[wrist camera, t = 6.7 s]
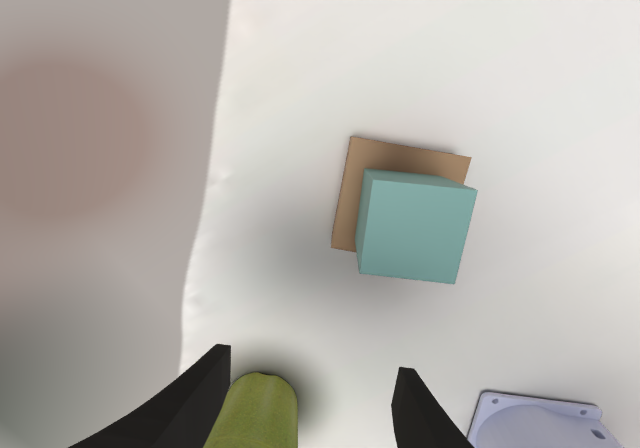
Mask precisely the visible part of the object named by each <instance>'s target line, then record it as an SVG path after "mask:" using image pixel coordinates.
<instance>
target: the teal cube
mask: <svg viewBox="0 0 640 448" xmlns="http://www.w3.org/2000/svg"><path fill="white" fill-rule="evenodd" d="M477 191H478V190H476V189H473V188H470V187H468V186H465V185H463V184H460V183H457V182H455V181H452V180H450V179H447V178H445V177H442V176H437V175H427V174H417V173H407V172H397V171H387V170H377V169H367V168H364V173H363V181H362V188H361V196H360V203H359V211H358V218H357V226H356V233H355V245H356V252H357V259H358V266H359V273H360V274H369V275H378V276H387V277H395V278H404V279H413V280H422V281H431V282H439V283H448V284H455V280H456V276H457V272H458V268H459V264H460V260H461V256H462V252H463V248H464V244H465V240H466V236H467V232H468V228H469V224H470V220H471V215H472V211H473V207H474V203H475V199H476V195H477Z"/></svg>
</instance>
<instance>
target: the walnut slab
mask: <svg viewBox="0 0 640 448" xmlns="http://www.w3.org/2000/svg"><path fill="white" fill-rule="evenodd" d="M471 158H472V157H466V156H460V155H454V154H449V153H443V152H437V151H432V150H426V149H420V148H415V147H409V146H403V145H397V144H392V143H386V142H380V141H375V140H369V139H363V138H357V137H350V142H349V147H348V153H347V158H346V163H345V169H344V174H343V179H342V184H341V190H340V195H339V200H338V205H337V211H336V216H335V221H334V227H333V232H332V240H331V248H335V249H341V250H346V251H352V252H356V245H355V233H356V226H357V218H358V211H359V203H360V196H361V188H362V181H363V173H364V168H367V169H377V170H387V171H397V172H407V173H417V174H427V175H437V176H442V177H445V178H447V179H450V180H452V181H455V182H457V183H460V184H464V181H465V177H466V174H467V171H468V167H469V164H470V161H471Z"/></svg>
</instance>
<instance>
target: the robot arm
mask: <svg viewBox="0 0 640 448" xmlns="http://www.w3.org/2000/svg"><path fill="white" fill-rule="evenodd" d="M230 365H231V346H230V345H222V344H216V345H215V346H213V347H212V348H211V349H210V350H209V351H208V352H207V353H206V354H205V355H203V356H202V357H201V358H200V359H199V360H198V361H197V362H196V363H195V364H193V365H192V366H191V367H190V368H189V369H188V370H186V371H185V372H184V373H183V374H182V375H180V376H179V377H178V378H177V379H176V380H174V381H173V382H172V383H171V384H169V385H168V386H167V387H166V388H164V389H163V390H162V391H161V392H159V393H158V394H156V395H155V396H154V397H153V398H151V399H150V400H148V401H147V402H145V403H144V404H143V405H141V406H140V407H138V408H137V409H135V410H134V411H132V412H131V413H129V414H128V415H126V416H124V417H123V418H121V419H119V420H118V421H116V422H114V423H113V424H111V425H109V426H107V427H106V428H104V429H102V430H101V431H99V432H97V433H95V434H93V435H92V436H90V437H88V438H86V439H84V440H82V441H80V442H78V443H76V444H74V445H73V446H70V447H68V448H203V447H204V445H205V443H206V441H207V439H208V437H209V435H210V432H211V430H212V428H213V426H214V424H215V422H216V420H217V418H218V416H219V413H220V411H221V409H222V406H223V403H224V401H225V398H226V395H227V392H228V389H229V386H230ZM493 399H494V400H493ZM391 408H392V417H393V426H394V433H395V438H396V442H397V447H398V448H624V447H623V446H622V445H621V444H620V443H619V442H618V441H617V439H616V438H615V437H614V436H613V435H612V434H611V433H610V432H609V431H608V430H607V429H606V427H605V426H604V425H603V424H602V423H601V422H600V421H599V420H600V417H601V415H602V411H601V410H600V409H599V408H598V407H597V406H594V405H586V404H578V403H570V402H562V401H555V400H547V399H539V398H531V397H523V396H515V395H508V394H500V393H492V392H485V393H483V394H482V395H481V397H480V400H479V404H478V407H477V410H476V413H475V416H474V419H473V422H472V426H471V429H470V432H469V435H468V438H466V437H465V436H464V435H463V434H462V432H461V431H460V430H459V429H458V428H457V426H456V425H455V424H454V423H453V421H452V420H451V419H450V418H449V416H448V415H447V414H446V412H445V411H444V410H443V408H442V407H441V406H440V405H439V403H438V402H437V400H436V399H435V398H434V396H433V395H432V394H431V392H430V391H429V389H428V388H427V386H426V385H425V384H424V382H423V381H422V379H421V378H420V376H419V375H418V374H417V372H416V371H415V369H412V368H404V367H399V371H398V376H397V380H396V385H395V390H394V394H393V399H392V404H391Z"/></svg>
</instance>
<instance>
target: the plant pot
mask: <svg viewBox="0 0 640 448" xmlns="http://www.w3.org/2000/svg"><path fill="white" fill-rule="evenodd" d="M203 448H298V408H297V397H296V394H295V392H294V390H293V388H292V387H291V386H290V385H289V384H288V383H287V382H286V381H285V380H283V379H282V378H280V377H278V376H276V375H273V376H269V375H263V374H260V373H258V372H255V373H250V374H247V375H244V376H242V377H240V378H239V379H238V380H236V381H235V382H234V384H233V385H232V386H231V388H230V390H229V391H228V393H227V395H226V398H225V401H224V403H223V406H222V409H221V411H220V413H219V416H218V418H217V420H216V422H215V424H214V426H213V428H212V430H211V432H210V435H209V437H208V439H207V441H206V443H205V445H204V447H203Z"/></svg>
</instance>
